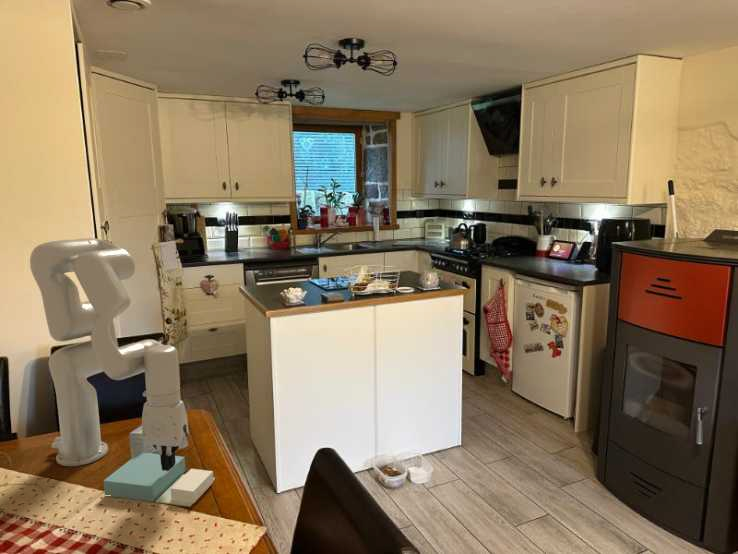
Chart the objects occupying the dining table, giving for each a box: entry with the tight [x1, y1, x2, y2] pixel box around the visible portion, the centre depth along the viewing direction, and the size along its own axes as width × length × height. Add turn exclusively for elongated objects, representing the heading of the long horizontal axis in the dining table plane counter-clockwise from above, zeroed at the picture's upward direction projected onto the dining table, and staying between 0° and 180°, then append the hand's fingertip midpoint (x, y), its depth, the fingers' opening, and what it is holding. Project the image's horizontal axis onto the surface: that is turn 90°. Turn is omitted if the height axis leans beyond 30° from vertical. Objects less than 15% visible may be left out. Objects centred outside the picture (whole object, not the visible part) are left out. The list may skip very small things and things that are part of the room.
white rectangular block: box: [170, 468, 214, 504], centre depth 125 cm, size 6×9×3 cm, turn 168°
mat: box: [154, 473, 216, 508], centre depth 126 cm, size 9×12×1 cm
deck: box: [103, 452, 186, 503], centre depth 129 cm, size 13×14×4 cm
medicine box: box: [129, 424, 158, 460], centre depth 141 cm, size 8×4×9 cm, turn 168°
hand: (168, 467), depth 126 cm, fingers closed
